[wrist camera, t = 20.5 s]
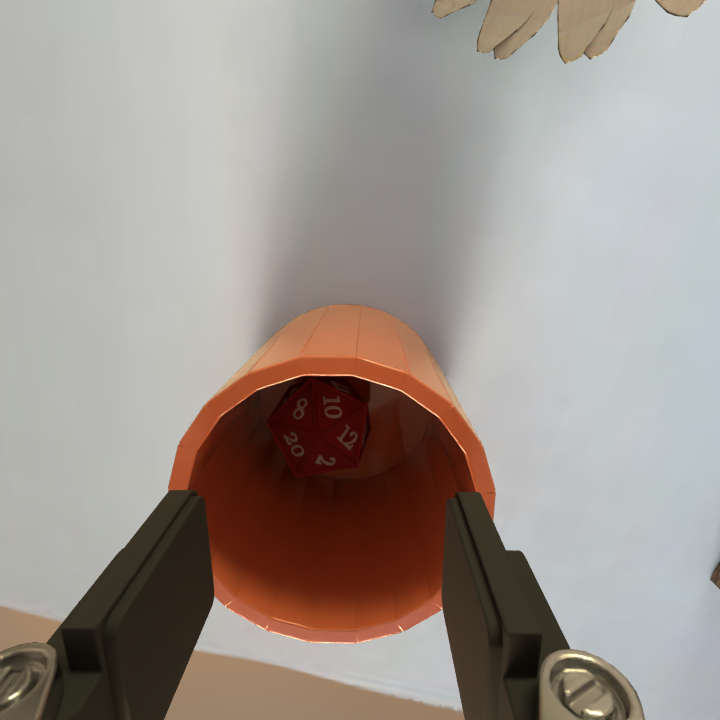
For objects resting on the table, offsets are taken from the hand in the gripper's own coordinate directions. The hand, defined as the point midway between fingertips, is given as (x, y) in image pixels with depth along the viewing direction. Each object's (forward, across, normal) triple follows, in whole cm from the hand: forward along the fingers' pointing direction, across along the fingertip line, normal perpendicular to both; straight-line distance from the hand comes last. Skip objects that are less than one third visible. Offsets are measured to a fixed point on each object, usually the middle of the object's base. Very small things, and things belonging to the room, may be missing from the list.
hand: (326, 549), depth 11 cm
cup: (+10, 0, 0) cm, 10 cm away
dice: (+9, 0, 0) cm, 9 cm away
